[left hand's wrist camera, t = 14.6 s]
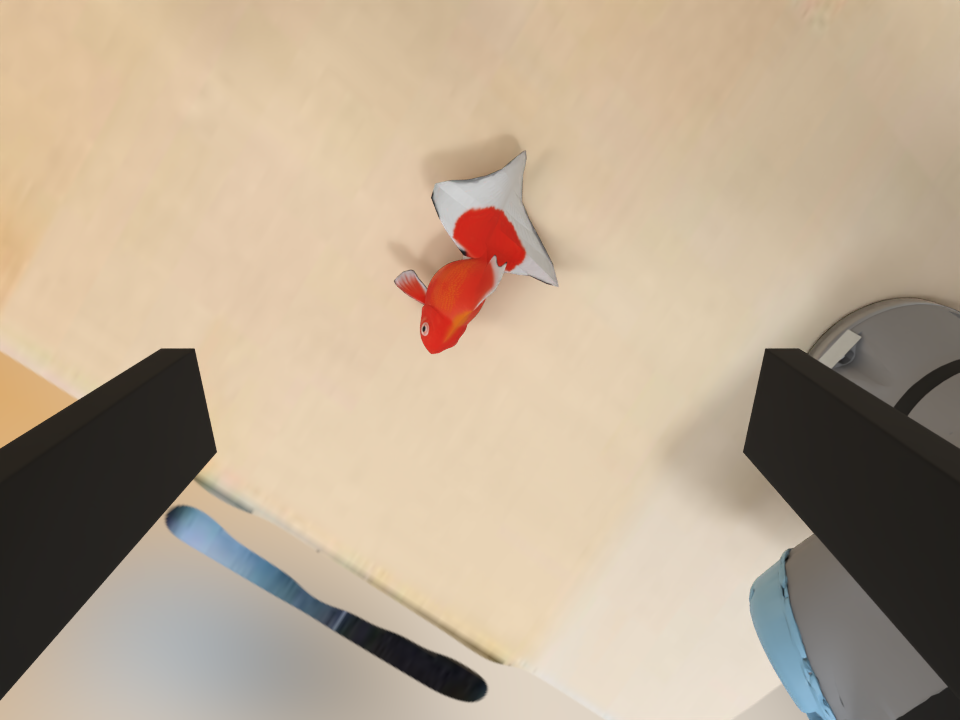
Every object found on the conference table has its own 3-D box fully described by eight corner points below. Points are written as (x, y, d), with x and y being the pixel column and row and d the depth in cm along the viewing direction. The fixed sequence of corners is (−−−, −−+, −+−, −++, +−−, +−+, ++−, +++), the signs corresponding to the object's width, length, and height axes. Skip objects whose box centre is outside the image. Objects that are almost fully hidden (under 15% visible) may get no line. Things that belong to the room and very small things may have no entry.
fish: (330, 272, 39) (381, 294, 31) (460, 122, 41) (540, 106, 33) (424, 356, 45) (487, 393, 37) (533, 222, 47) (615, 228, 39)
